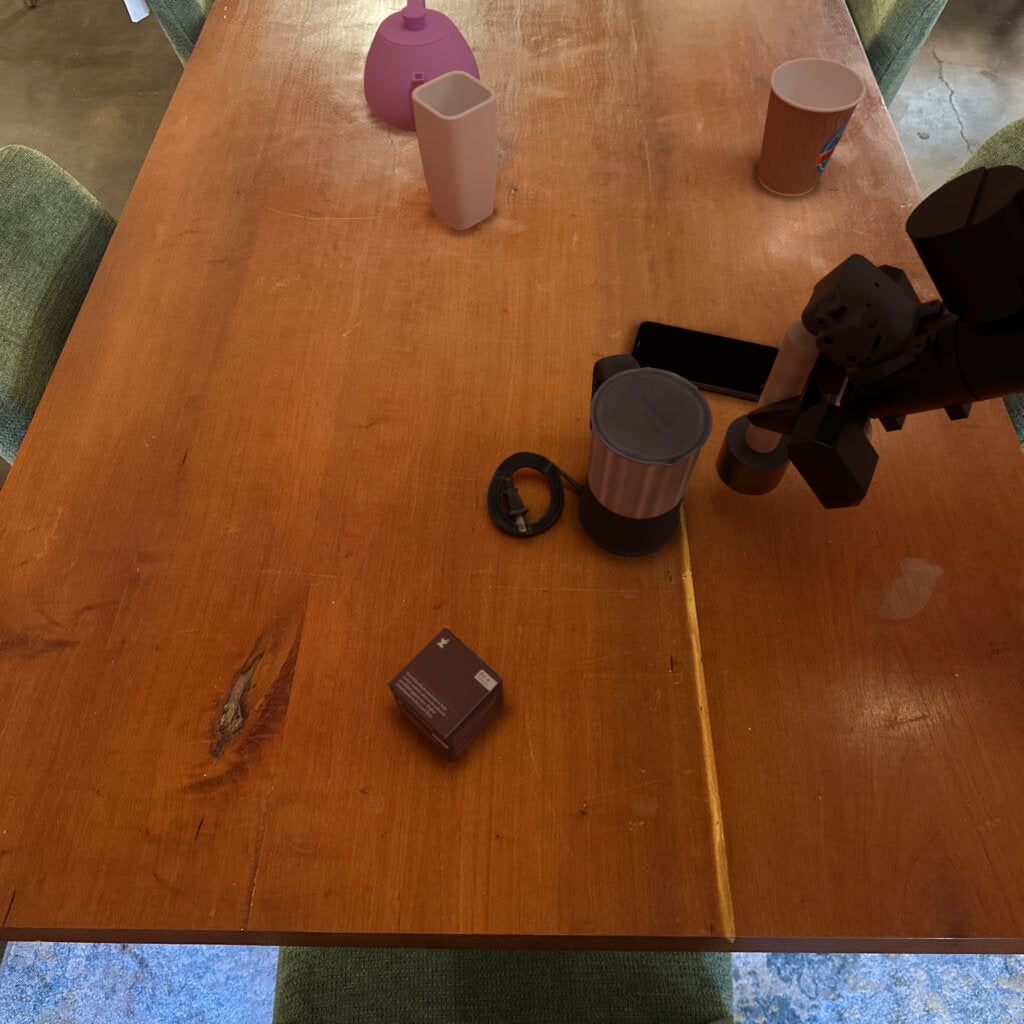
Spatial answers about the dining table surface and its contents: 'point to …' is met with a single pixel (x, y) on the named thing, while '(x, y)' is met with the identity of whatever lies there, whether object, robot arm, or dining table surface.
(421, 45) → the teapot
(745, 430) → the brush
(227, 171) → the dining table surface
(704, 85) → the dining table surface
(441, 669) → the box
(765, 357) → the smartphone
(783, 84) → the coffee cup
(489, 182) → the cup
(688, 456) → the milk frother
